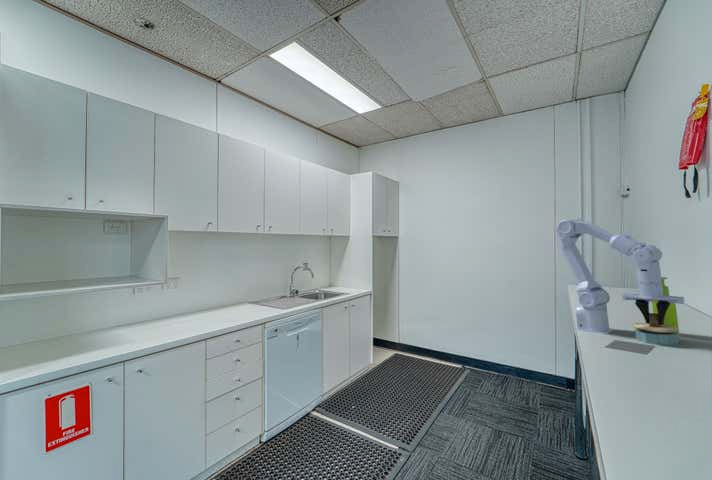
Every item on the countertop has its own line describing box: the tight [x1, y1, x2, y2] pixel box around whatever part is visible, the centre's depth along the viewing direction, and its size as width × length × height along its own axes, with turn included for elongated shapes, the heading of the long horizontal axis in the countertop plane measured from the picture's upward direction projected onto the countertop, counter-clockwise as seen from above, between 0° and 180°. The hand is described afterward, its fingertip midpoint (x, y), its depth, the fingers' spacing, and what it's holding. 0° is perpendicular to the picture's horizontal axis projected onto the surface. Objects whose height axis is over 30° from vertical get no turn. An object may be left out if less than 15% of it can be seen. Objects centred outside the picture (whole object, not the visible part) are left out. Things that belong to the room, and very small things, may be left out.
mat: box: [604, 339, 656, 355], centre depth 96 cm, size 10×10×1 cm
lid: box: [633, 312, 678, 332], centre depth 99 cm, size 10×10×5 cm
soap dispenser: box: [651, 276, 680, 337], centre depth 106 cm, size 6×7×20 cm
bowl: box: [634, 328, 680, 346], centre depth 99 cm, size 10×10×4 cm
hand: (654, 323), depth 100 cm, fingers closed on lid, 2 cm apart
